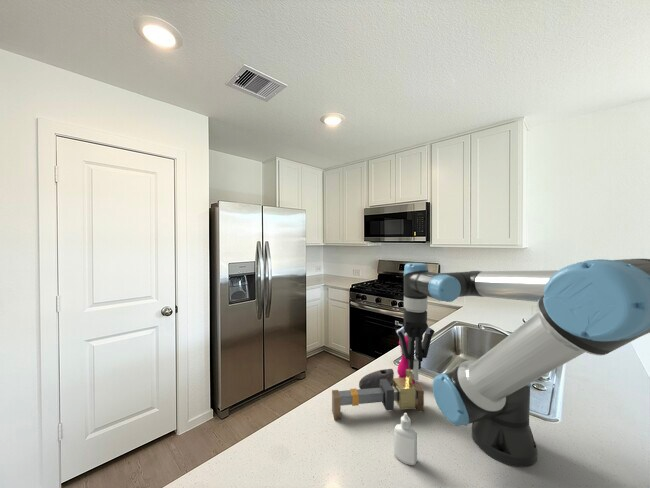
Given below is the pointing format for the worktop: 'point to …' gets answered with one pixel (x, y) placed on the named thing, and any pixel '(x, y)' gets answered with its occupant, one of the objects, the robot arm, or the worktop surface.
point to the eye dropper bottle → (405, 442)
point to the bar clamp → (369, 398)
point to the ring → (387, 394)
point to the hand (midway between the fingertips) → (414, 378)
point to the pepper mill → (403, 362)
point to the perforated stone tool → (376, 379)
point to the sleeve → (405, 391)
